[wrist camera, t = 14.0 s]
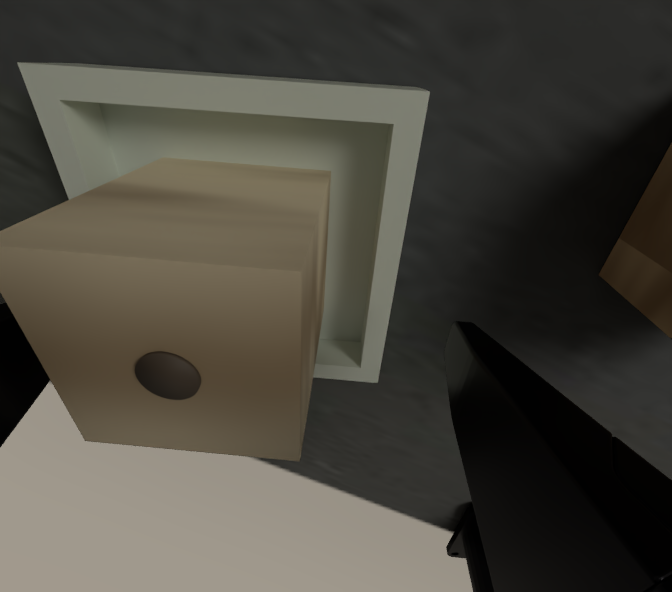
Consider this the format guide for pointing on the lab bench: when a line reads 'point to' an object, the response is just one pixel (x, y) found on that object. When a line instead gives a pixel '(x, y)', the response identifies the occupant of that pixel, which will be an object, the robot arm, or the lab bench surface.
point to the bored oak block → (647, 252)
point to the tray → (259, 149)
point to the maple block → (179, 304)
